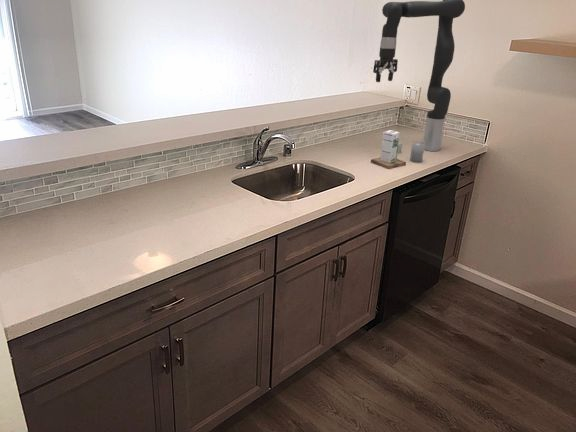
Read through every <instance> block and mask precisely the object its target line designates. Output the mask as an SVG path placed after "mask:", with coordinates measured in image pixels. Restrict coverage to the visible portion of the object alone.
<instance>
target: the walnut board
mask: <svg viewBox="0 0 576 432" xmlns="http://www.w3.org/2000/svg"><path fill="white" fill-rule="evenodd" d="M380 159H381V156H380V157H376V158H371V159H370V163H371V164H374V165H377V166H380V167H382V168H385V169H387V170H392V169H395V168H399V167H405V166H406V165H407V162H406V161H404V160H402V159H400V158H399V159H398V158H396V161H394V162H391V163H387V162H384V161H381V160H380Z"/></svg>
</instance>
